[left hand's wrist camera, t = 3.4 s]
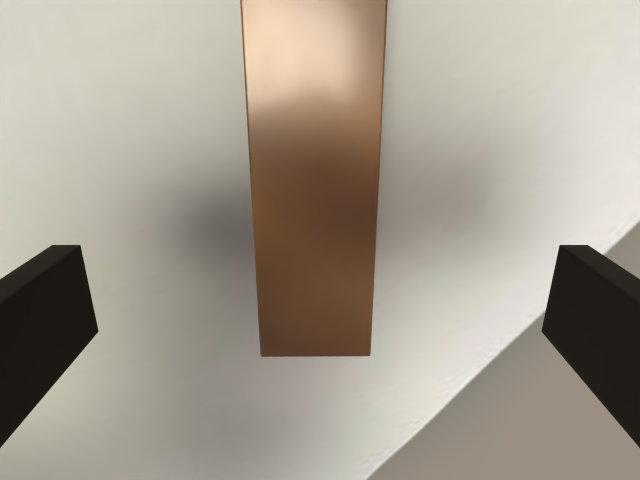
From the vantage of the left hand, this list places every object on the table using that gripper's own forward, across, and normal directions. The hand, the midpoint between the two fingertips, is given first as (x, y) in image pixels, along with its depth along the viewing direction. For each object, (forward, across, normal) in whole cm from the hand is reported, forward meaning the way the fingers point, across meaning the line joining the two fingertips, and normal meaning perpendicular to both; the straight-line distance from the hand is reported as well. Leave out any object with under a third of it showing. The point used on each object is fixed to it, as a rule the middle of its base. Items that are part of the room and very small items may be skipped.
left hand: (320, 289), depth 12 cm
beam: (+14, 0, -32) cm, 34 cm away
